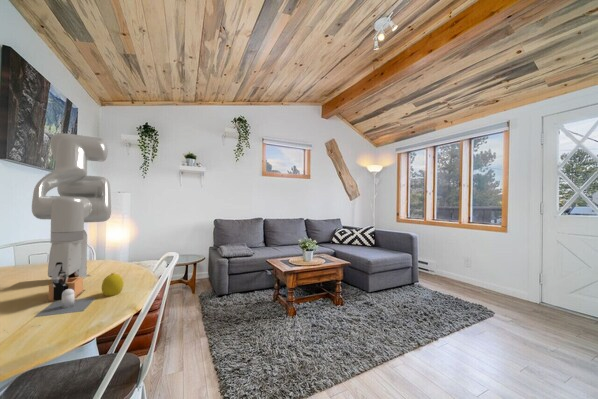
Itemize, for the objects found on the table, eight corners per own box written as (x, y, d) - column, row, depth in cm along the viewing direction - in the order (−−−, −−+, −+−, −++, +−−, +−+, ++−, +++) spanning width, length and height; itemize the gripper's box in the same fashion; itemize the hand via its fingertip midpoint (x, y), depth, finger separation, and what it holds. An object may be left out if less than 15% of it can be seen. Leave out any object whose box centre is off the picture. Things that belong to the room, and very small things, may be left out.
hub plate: (53, 306, 72) (54, 285, 72) (96, 302, 76) (96, 281, 76) (33, 323, 63) (33, 298, 63) (83, 316, 67) (83, 293, 67)
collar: (58, 292, 79) (58, 278, 79) (82, 290, 81) (82, 276, 81) (48, 300, 73) (48, 284, 73) (74, 297, 76) (74, 282, 76)
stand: (56, 297, 79) (56, 282, 79) (86, 294, 82) (86, 280, 82) (43, 306, 72) (43, 291, 72) (76, 302, 75) (76, 288, 75)
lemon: (111, 302, 76) (112, 276, 76) (96, 300, 77) (97, 274, 77) (127, 295, 82) (127, 271, 82) (113, 294, 83) (113, 270, 83)
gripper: (65, 233, 84) (64, 287, 84) (35, 242, 68) (33, 308, 68) (92, 233, 87) (91, 284, 87) (70, 241, 71) (69, 304, 71)
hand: (66, 294), depth 77 cm, fingers closed on stand, 6 cm apart
